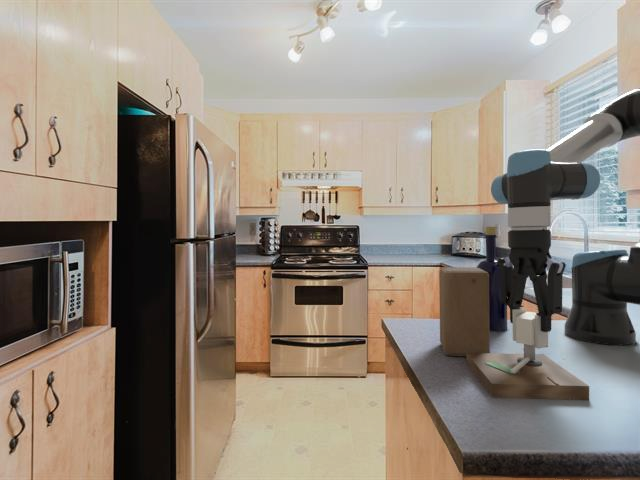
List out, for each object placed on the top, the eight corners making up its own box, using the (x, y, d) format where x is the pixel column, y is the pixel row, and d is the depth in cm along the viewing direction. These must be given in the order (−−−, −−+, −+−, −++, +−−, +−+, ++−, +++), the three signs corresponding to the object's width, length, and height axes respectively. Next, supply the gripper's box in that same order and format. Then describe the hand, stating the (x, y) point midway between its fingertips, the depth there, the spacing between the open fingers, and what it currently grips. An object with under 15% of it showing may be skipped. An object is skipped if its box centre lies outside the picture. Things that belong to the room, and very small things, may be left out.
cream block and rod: (542, 356, 76) (542, 313, 76) (520, 375, 66) (520, 326, 66) (527, 352, 78) (527, 311, 78) (504, 371, 68) (504, 324, 68)
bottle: (515, 331, 104) (514, 226, 103) (482, 332, 104) (481, 227, 104) (499, 323, 114) (498, 226, 113) (469, 323, 114) (468, 227, 113)
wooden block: (490, 359, 83) (490, 271, 83) (444, 356, 85) (443, 271, 85) (480, 345, 93) (480, 266, 93) (439, 343, 95) (438, 266, 95)
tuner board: (543, 365, 79) (543, 352, 79) (589, 399, 63) (589, 384, 63) (466, 363, 81) (466, 351, 81) (492, 396, 65) (491, 381, 65)
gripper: (586, 227, 67) (586, 353, 68) (506, 228, 83) (507, 330, 84) (558, 229, 64) (559, 360, 65) (480, 229, 80) (482, 334, 81)
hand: (529, 343), depth 75 cm, fingers open, 4 cm apart
